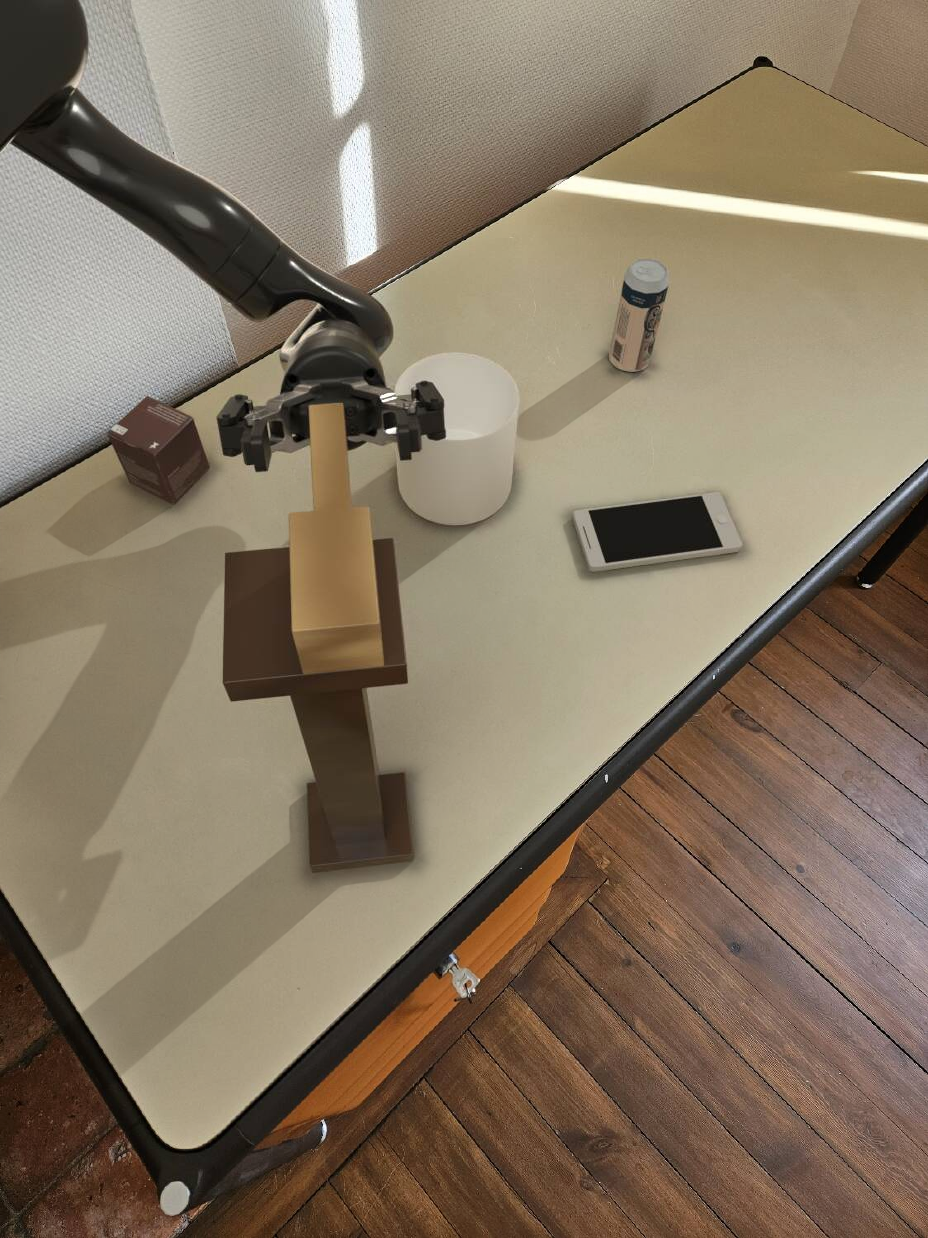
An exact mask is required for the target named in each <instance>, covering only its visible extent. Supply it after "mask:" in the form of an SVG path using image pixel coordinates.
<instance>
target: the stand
mask: <svg viewBox="0 0 928 1238" xmlns="http://www.w3.org/2000/svg"><path fill="white" fill-rule="evenodd" d="M373 545H374V554H375V565H376V577H377V588H378V599H379V610H380V621H381V632H382V643H383V654H384V666H381V667H371V668H361V669H351V670H341V671H331V672H321V673H311V674H303V672H302V668H301V664H300V661H299V657H298V653H297V649H296V645H295V642H294V638H293V634H292V624H291V587H290V550H289V546H286V547H274V548H262V549H252V550H251V549H249V550H239V551H229V552H228V551H227V552H225V553H224V586H223V588H224V591H223V634H222V635H223V636H222V640H223V641H222V685H223V687H224V689H225V692H226V694H227V697H228V700H229V701H230V702H242V701H251V700H252V701H253V700H262V699H271V698H280V697H281V698H282V697H290V701H291V704H292V707H293V710H294V714H295V717H296V721H297V724H298V727H299V730H300V734H301V738H302V740H303V744H304V747H305V750H306V754H307V758H308V760H309V763H310V766H311V767H310V768H311V770H312V773H313V777H314V780H315V781H311V782H307V783H306V794H307V795H306V797H307V825H308V853H309V868H310V870H311V873H313V874H314V873H315V874H316V873H324V872H333V871H341V870H348V869H349V870H350V869H357V868H359V869H360V868H366V867H374V866H383V865H391V864H392V865H393V864H400V863H408V862H414V859H415V858H414V849H413V840H412V829H411V819H410V818H411V817H410V808H409V798H408V789H407V788H408V787H407V780H406V777H407V776H406V772H405V771H401V772H393V773H384V774H380V771H379V769H380V768H379V761H378V756H377V747H376V743H375V736H374V730H373V729H374V728H373V723H372V722H373V721H372V716H371V709H370V702H369V695H368V689H369V688H379V687H388V686H389V687H391V686H399V685H408V684H409V675H408V662H407V651H406V643H405V634H404V626H403V625H404V624H403V623H404V622H403V616H402V615H403V614H402V606H401V605H402V604H401V596H400V588H399V577H398V569H397V568H398V567H397V558H396V551H395V540H394V538H393V537H386V538H377V539H376V538H375V539H373Z"/></svg>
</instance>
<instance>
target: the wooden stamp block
mask: <svg viewBox="0 0 928 1238" xmlns="http://www.w3.org/2000/svg"><path fill="white" fill-rule="evenodd" d="M309 426H310V445H309V447H310V468H311V469H310V470H311V489H312V490H311V491H312V508H313V509H312V510H308V511H295V512H289V513H288V545H289V546H288V547H289V550H290V587H291V624H292V634H293V638H294V642H295V645H296V649H297V653H298V657H299V661H300V664H301V668H302V672H303V674H311V673H321V672H331V671H341V670H351V669H361V668H371V667H381V666H384V654H383V643H382V632H381V621H380V610H379V599H378V588H377V577H376V565H375V554H374V545H373V540H374V538H373V537H374V536H373V527H372V517H371V509H370V506H367V505H365V506H355V507H353V501H352V490H351V489H352V488H351V477H350V463H349V451H348V448H347V435H346V422H345V413H344V405H343V403H332V404H319V405H309Z"/></svg>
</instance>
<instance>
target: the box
mask: <svg viewBox="0 0 928 1238" xmlns="http://www.w3.org/2000/svg"><path fill="white" fill-rule="evenodd" d="M106 436H107V437H108V439H109V441H110V443H111V444H110V445H111V446H112V448H113V450H114V452H115V454H116V457H117V459H118V461H119V464H120V465H121V467H122V469H123V471H124V474H125V476H126V478H127V481H128V483H129V484H131V485H133V486H135V487H137V488H139V489H141V490H143V491H145V492H147V493H149V494H151V495H153V496H155V497H157V498H159V499H161V500H163V501H165V502H167V503H169V504H170V505H175V504H176V503H177V502H178V501H179V500H180V499H181V498H182V497H183V496H184V495H185V494H186V492H188V490H190V488H192V486H193V485H194V484H195V483H196V482H197V481H199V479H200V478H201V477H202V476H203V475H205V473H206V472H207V471H208V470H209V469H210V467H211V466H210V464H209V460H208V457H207V456H206V455H207V454H206V452H205V449H204V448H205V447H204V446H203V442H202V440H201V437H200V434H199V431H198V427H197V425H196V422H195V418H194V417H193V416H192V415H190V414H187V413H185V412H183V411H181V410H179V409H177V408H174V407H172V406H170V405H168V404H166V403H164V402H162V401H160V400H158V399H155V398H153V397H151V396H149V395H147V396H145V397H144V398H143V399H142V400H140V402H138V403H137V404H136V405H135V406H134V407H133V408H132V409H131V410H130V411H128V413H126V415H124V417H122V418H121V419H120V420H119V421H118V422H117V423H115V424H114V425H113V426H112V427H111V428H110V429H109V430H108V431H107V432H106Z"/></svg>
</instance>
